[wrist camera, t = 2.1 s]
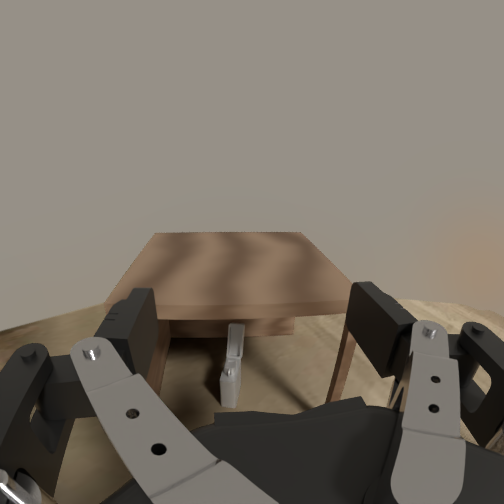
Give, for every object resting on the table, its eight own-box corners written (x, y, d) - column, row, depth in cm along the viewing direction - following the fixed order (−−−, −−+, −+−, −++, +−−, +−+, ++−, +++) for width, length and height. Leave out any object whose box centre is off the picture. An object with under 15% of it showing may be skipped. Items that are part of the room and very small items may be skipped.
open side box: (143, 434, 24) (103, 303, 19) (165, 333, 43) (155, 233, 38) (330, 426, 27) (366, 298, 22) (291, 330, 45) (300, 232, 40)
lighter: (235, 408, 30) (235, 356, 27) (220, 406, 30) (217, 354, 27) (244, 369, 36) (245, 319, 34) (231, 368, 36) (230, 318, 34)
